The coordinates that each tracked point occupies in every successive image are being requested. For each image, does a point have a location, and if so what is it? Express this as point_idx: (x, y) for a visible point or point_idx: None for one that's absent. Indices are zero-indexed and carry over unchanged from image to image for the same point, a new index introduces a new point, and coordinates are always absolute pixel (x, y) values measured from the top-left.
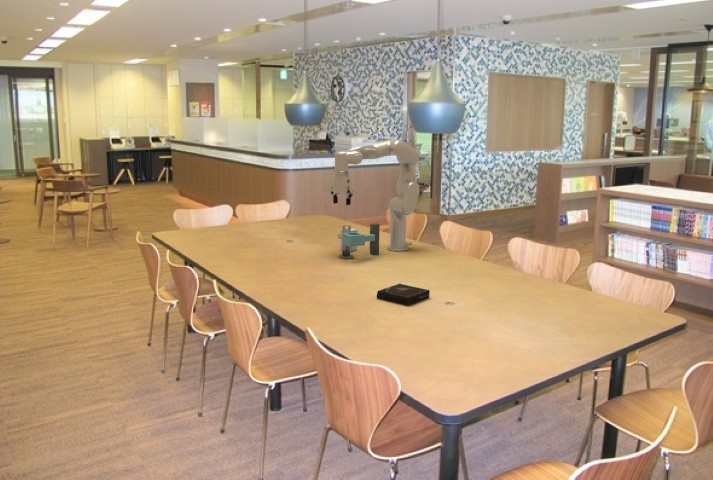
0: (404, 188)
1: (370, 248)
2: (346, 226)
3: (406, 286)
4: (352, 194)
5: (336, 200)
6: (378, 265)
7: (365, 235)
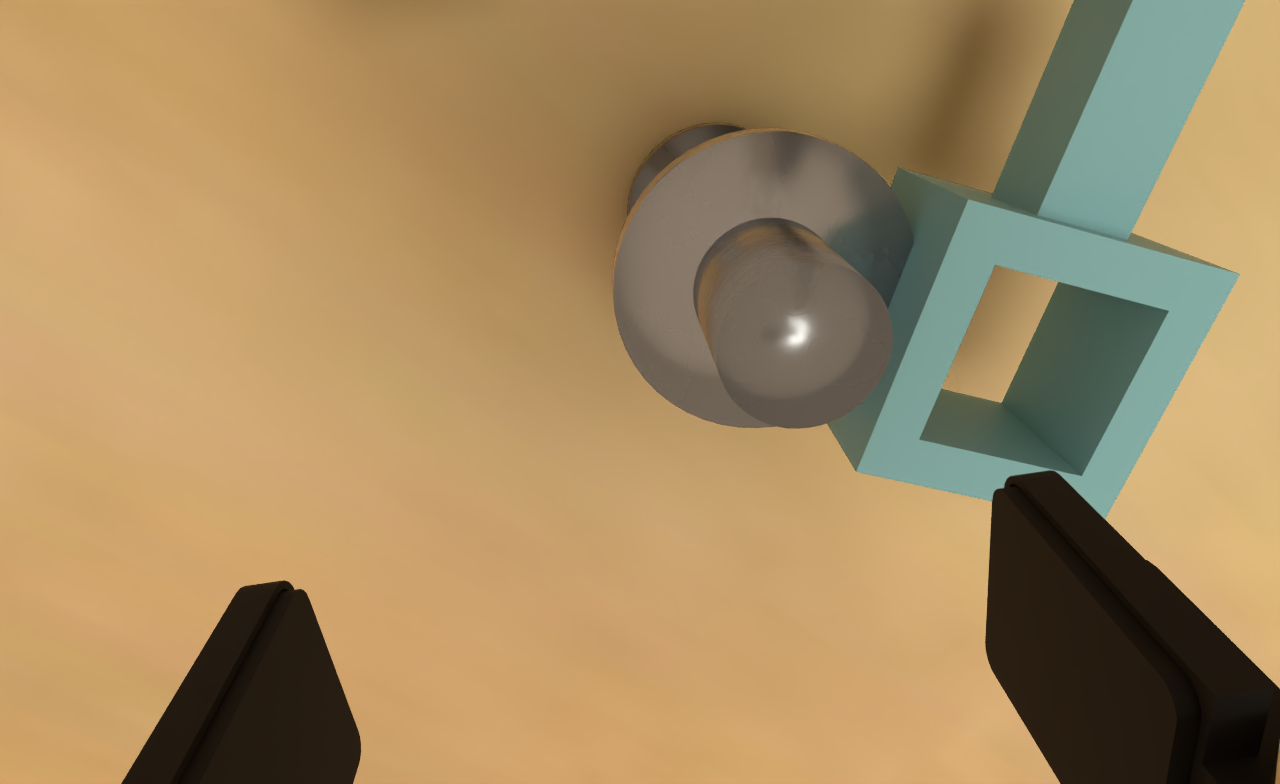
0: None
1: None
2: (844, 383)
3: None
4: None
5: (285, 729)
6: (1247, 195)
7: (1129, 139)
